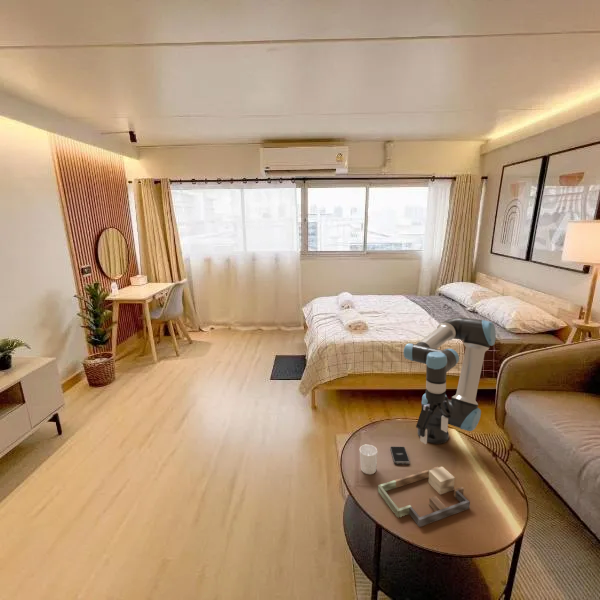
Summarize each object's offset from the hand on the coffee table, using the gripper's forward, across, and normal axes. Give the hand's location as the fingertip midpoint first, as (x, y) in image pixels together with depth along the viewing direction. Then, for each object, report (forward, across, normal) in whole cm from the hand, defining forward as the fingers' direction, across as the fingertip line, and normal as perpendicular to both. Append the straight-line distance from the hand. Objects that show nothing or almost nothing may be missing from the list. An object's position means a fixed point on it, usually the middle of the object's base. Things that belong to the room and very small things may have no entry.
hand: (434, 436), depth 137 cm
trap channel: (+21, +11, +5) cm, 24 cm away
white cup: (+21, +18, -20) cm, 34 cm away
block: (+21, +1, +4) cm, 21 cm away
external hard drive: (+21, 0, -18) cm, 28 cm away
